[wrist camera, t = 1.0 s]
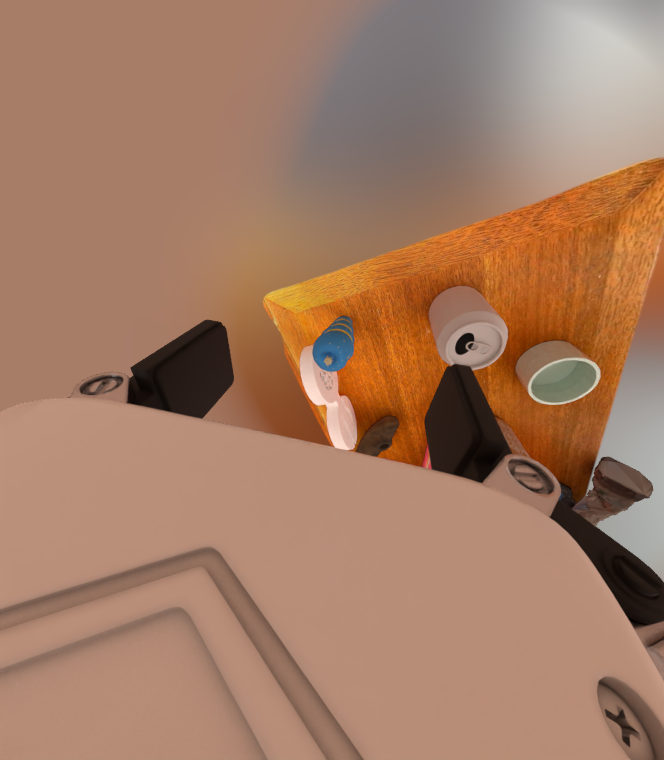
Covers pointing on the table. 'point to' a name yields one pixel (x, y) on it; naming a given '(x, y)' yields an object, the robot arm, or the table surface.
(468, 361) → the can
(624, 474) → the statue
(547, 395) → the bowl
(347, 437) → the pink double disc plate
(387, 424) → the artifact
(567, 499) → the micrometer
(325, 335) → the ornament
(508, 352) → the table surface
